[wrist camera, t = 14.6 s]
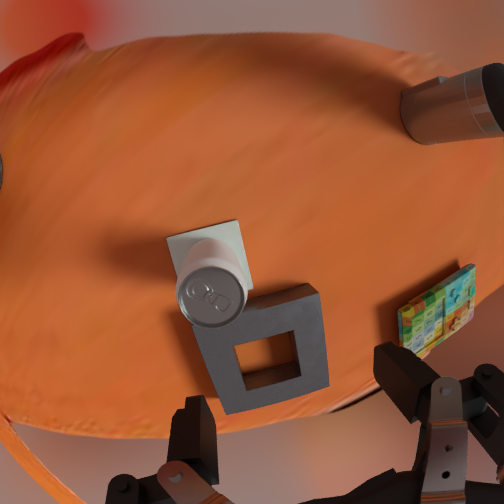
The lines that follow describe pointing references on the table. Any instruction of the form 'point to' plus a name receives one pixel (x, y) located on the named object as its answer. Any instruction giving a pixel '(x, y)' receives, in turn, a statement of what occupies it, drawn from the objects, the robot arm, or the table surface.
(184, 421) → the robot arm
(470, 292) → the puzzle game
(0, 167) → the plant pot
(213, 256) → the can
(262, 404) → the hollow block
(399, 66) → the table surface
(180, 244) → the mat
